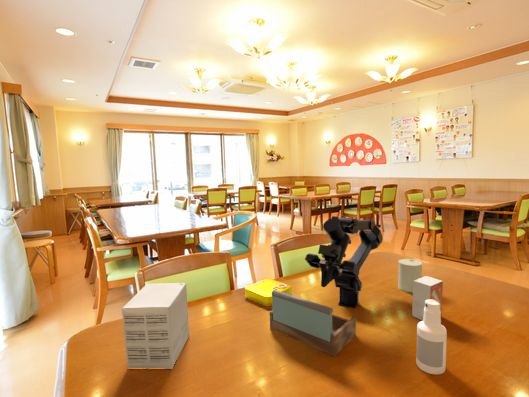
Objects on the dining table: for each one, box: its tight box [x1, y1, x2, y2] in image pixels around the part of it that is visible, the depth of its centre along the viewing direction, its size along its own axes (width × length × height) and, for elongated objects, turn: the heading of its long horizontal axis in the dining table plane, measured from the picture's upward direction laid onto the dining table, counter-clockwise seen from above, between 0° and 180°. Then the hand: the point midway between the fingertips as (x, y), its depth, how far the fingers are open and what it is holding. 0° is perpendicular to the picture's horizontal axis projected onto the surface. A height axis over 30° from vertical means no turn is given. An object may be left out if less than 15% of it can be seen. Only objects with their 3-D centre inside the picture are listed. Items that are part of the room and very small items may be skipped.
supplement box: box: [121, 282, 190, 370], centre depth 92 cm, size 17×13×18 cm
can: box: [397, 258, 423, 294], centre depth 132 cm, size 9×9×12 cm
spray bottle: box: [415, 299, 448, 376], centre depth 82 cm, size 7×7×18 cm
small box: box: [411, 275, 444, 321], centre depth 108 cm, size 8×6×13 cm
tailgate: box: [271, 290, 334, 342], centre depth 96 cm, size 2×21×10 cm, turn 49°
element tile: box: [244, 278, 293, 307], centre depth 130 cm, size 15×15×5 cm
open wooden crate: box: [269, 309, 357, 357], centre depth 101 cm, size 14×24×6 cm, turn 49°
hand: (322, 286), depth 105 cm, fingers closed
